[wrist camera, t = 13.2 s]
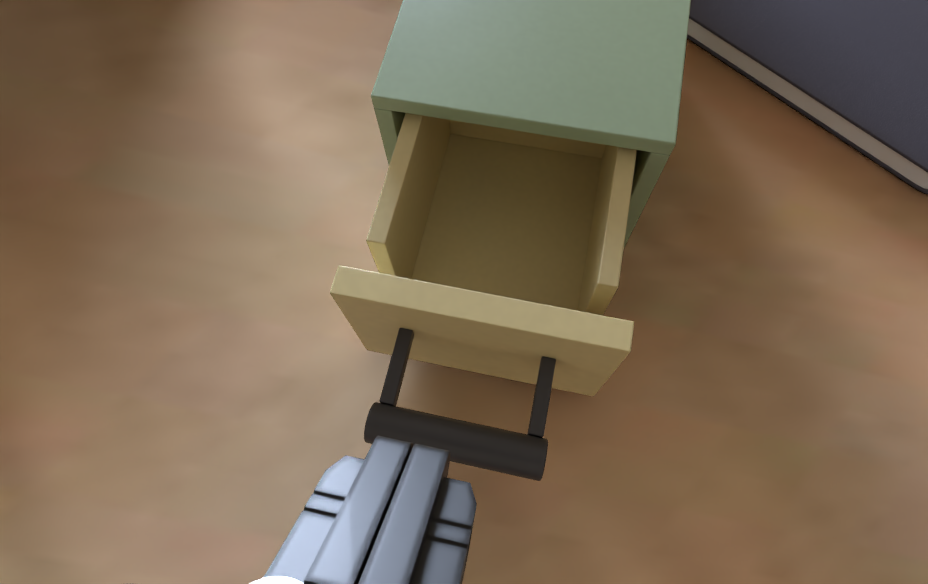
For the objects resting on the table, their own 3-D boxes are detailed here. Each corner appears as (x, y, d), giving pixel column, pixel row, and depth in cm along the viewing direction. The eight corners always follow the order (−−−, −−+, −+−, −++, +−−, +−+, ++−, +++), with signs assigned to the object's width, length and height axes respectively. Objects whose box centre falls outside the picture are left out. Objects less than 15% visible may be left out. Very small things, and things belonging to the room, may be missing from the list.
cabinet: (623, 249, 33) (676, 144, 24) (400, 209, 34) (370, 95, 25) (651, 44, 38) (702, -106, 29) (456, 17, 39) (447, -134, 30)
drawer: (579, 500, 27) (614, 489, 20) (339, 446, 28) (289, 417, 21) (626, 162, 34) (665, 61, 26) (429, 130, 35) (415, 25, 28)
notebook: (1043, 69, 36) (748, -96, 42) (1067, 50, 35) (757, -119, 41) (932, 201, 33) (631, 2, 39) (953, 185, 32) (637, -19, 38)
